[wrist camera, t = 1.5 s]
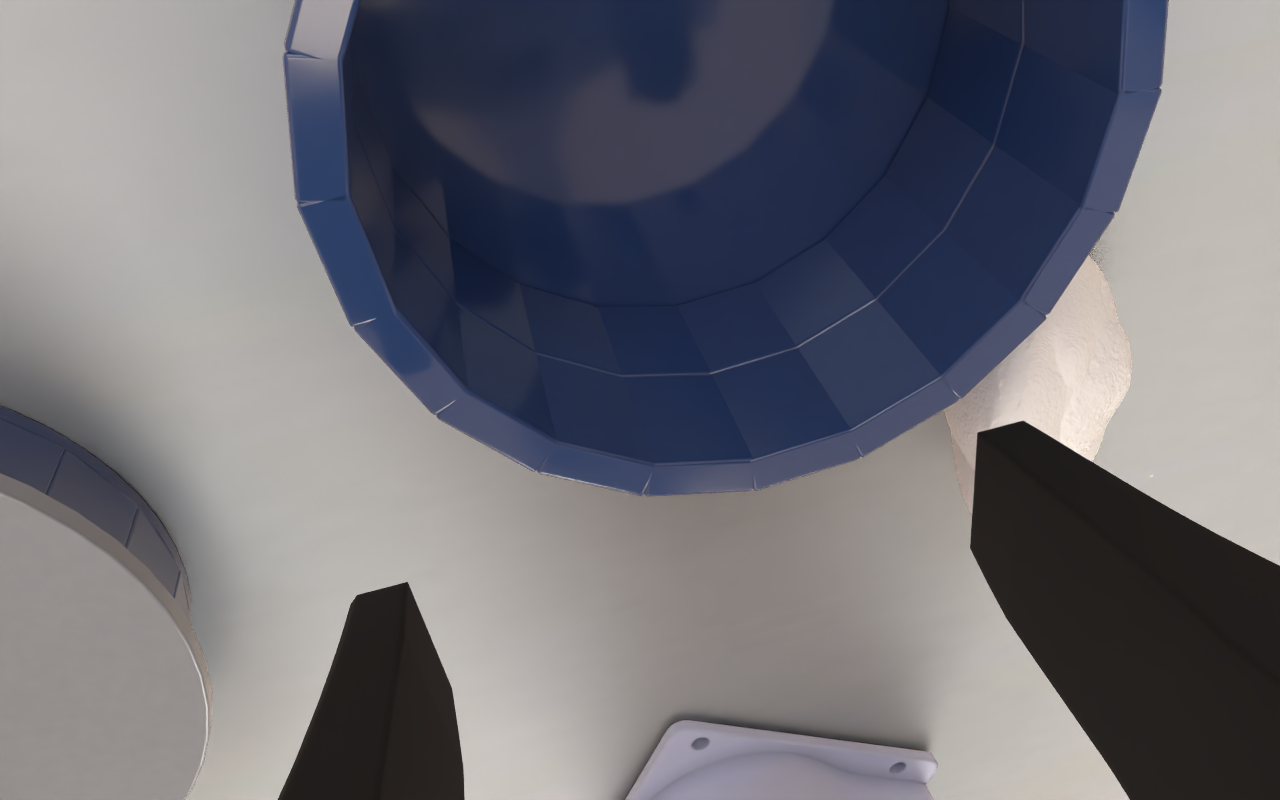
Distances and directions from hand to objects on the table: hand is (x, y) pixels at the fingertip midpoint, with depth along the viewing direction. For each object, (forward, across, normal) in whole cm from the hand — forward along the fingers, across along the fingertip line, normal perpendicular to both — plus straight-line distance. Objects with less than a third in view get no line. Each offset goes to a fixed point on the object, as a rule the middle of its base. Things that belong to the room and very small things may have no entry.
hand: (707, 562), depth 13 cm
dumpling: (+10, -9, +6) cm, 15 cm away
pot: (+10, -2, -3) cm, 11 cm away
